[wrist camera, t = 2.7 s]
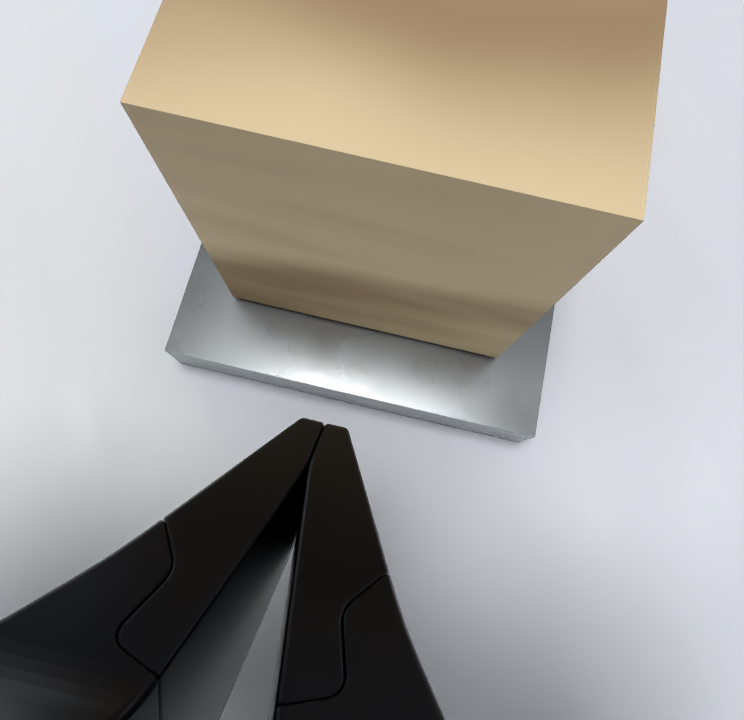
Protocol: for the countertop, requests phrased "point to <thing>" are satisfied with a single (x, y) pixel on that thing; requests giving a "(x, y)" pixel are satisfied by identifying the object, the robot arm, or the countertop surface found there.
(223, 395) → the countertop surface
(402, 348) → the metal tray
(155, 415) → the countertop surface
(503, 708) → the countertop surface
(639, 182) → the tan wooden block
